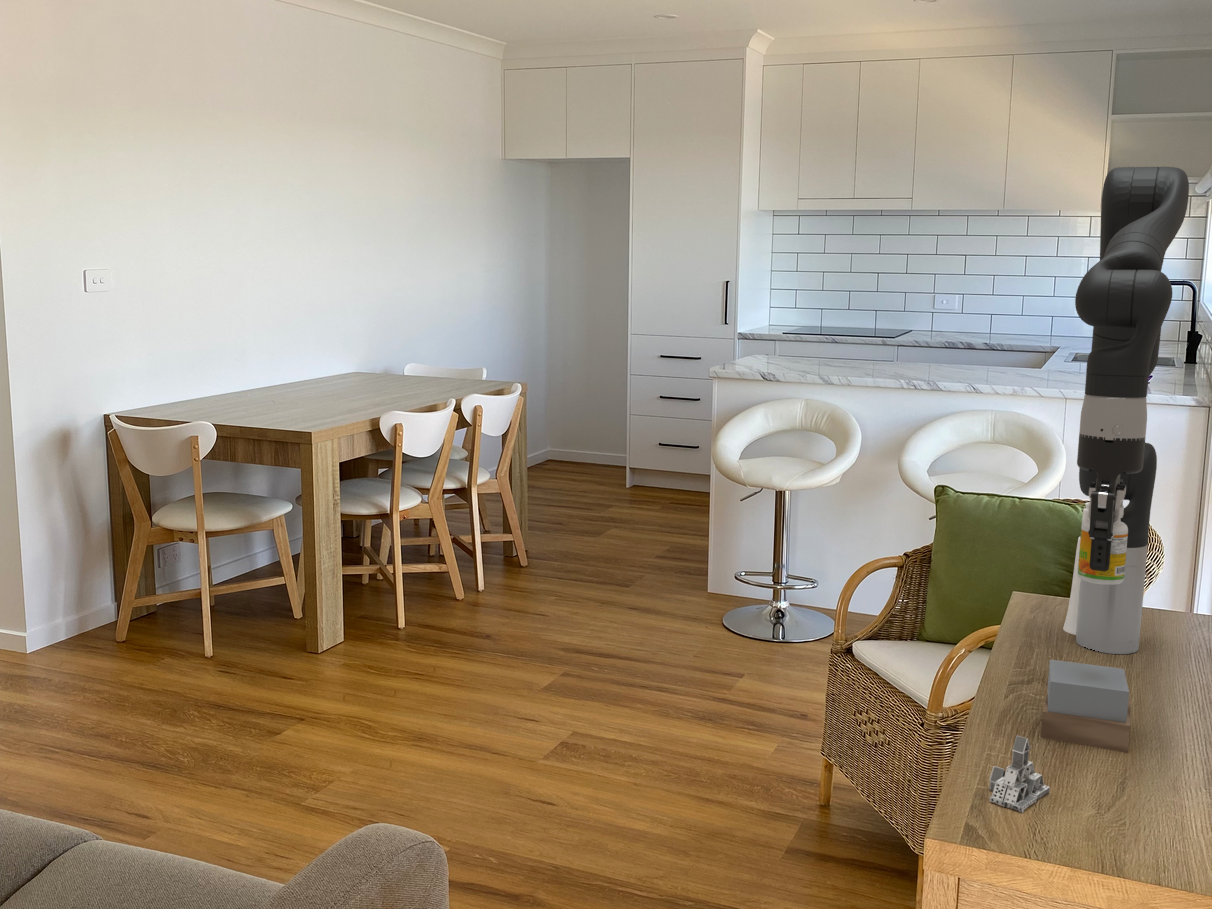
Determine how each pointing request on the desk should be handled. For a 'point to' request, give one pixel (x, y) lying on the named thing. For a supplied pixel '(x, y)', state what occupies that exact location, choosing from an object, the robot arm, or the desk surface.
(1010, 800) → the house of cards
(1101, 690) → the top block
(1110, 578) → the supplement bottle
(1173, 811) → the desk surface
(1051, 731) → the base block
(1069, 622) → the cosmetic bottle
